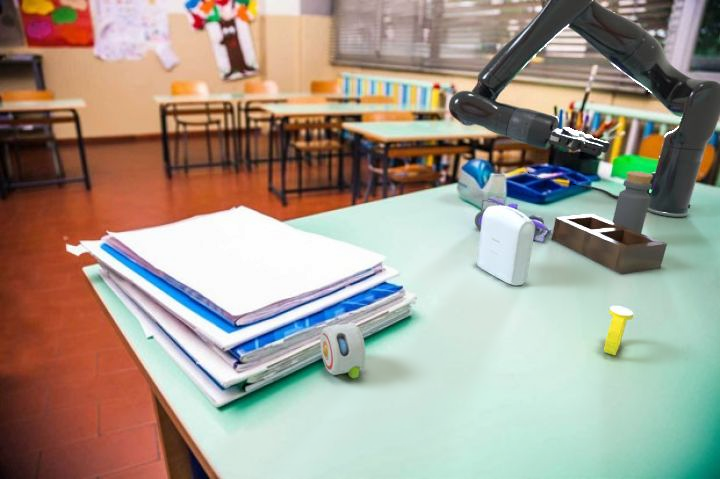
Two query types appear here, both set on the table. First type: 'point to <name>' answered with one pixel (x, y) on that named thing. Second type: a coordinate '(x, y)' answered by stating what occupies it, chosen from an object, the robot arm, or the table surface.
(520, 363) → the table surface
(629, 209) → the bottle
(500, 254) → the photo printer
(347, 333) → the roller toy
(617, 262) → the box
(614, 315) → the white topped yellow dowel
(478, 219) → the toy race car
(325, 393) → the table surface
